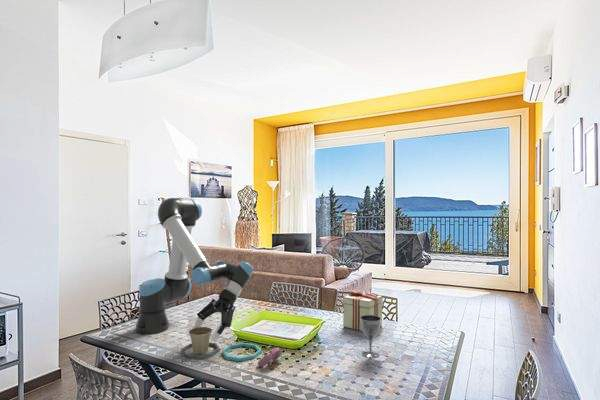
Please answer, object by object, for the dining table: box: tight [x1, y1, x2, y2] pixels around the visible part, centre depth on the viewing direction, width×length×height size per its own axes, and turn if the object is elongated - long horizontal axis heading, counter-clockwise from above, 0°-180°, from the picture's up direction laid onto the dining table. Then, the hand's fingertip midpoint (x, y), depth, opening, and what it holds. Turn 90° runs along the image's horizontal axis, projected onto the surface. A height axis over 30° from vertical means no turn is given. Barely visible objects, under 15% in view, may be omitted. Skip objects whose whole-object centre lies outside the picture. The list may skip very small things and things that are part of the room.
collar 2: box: [221, 342, 262, 362], centre depth 153 cm, size 15×15×1 cm
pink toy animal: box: [257, 346, 283, 368], centre depth 143 cm, size 10×5×7 cm, turn 148°
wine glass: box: [361, 315, 381, 359], centre depth 151 cm, size 8×8×15 cm
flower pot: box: [188, 326, 213, 355], centre depth 154 cm, size 9×9×9 cm
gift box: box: [342, 289, 384, 332], centre depth 187 cm, size 17×18×17 cm
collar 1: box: [180, 341, 221, 360], centre depth 154 cm, size 15×15×1 cm
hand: (202, 336), depth 154 cm, fingers open, 13 cm apart
